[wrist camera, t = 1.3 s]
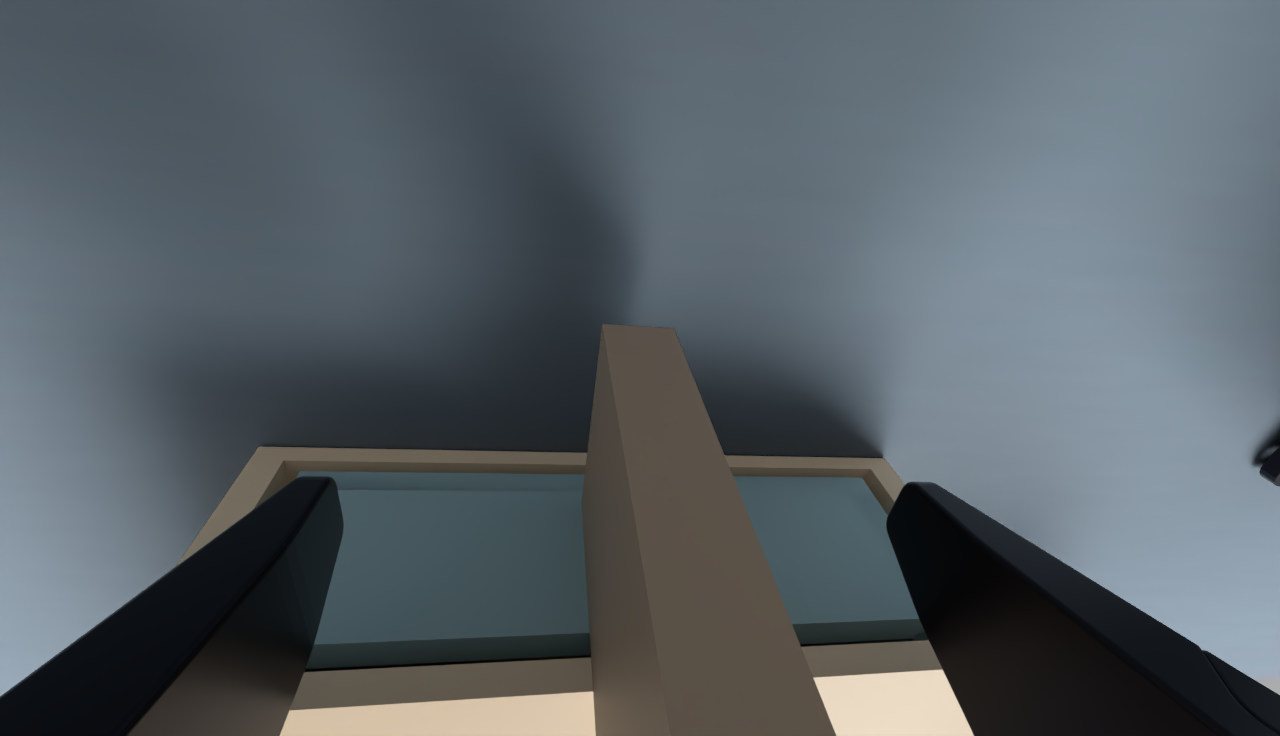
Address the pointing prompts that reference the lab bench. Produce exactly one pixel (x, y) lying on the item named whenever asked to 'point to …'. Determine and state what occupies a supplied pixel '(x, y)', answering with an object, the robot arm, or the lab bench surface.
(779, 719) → the tray
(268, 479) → the sleeve
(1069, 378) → the lab bench surface
